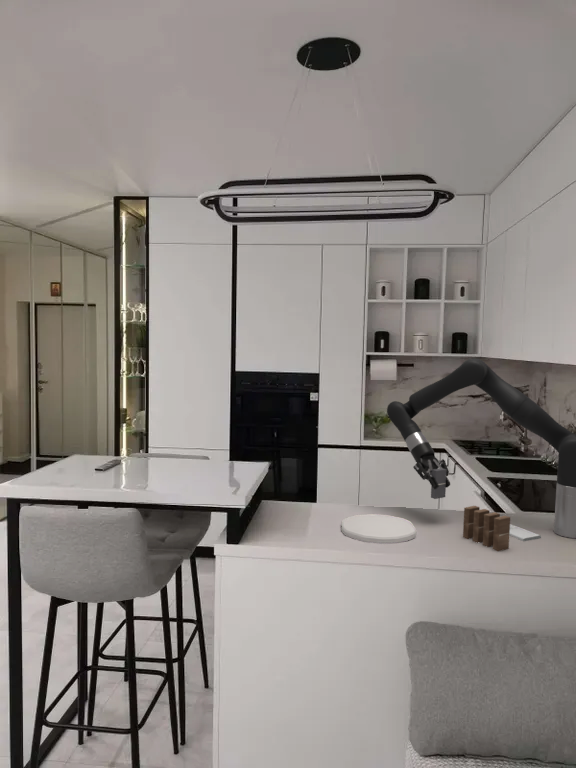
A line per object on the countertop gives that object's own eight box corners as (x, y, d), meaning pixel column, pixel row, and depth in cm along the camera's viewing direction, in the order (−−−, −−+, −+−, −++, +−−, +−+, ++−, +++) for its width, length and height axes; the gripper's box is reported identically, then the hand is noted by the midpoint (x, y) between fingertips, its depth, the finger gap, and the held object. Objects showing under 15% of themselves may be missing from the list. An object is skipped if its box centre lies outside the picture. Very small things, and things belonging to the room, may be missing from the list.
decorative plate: (408, 509, 204) (422, 533, 179) (408, 520, 205) (422, 546, 180) (339, 507, 205) (343, 531, 180) (339, 518, 205) (343, 543, 181)
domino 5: (492, 549, 177) (494, 517, 177) (503, 546, 180) (504, 515, 179) (498, 551, 176) (499, 519, 175) (508, 548, 178) (510, 517, 177)
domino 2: (462, 537, 188) (464, 507, 187) (473, 534, 190) (474, 505, 189) (467, 539, 186) (469, 509, 185) (478, 536, 188) (479, 507, 188)
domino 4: (482, 545, 181) (484, 514, 180) (493, 542, 183) (494, 512, 182) (487, 547, 179) (489, 516, 178) (498, 544, 182) (500, 513, 181)
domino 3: (472, 541, 184) (474, 511, 183) (483, 538, 187) (484, 508, 186) (477, 543, 182) (479, 512, 182) (488, 540, 185) (489, 510, 184)
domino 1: (430, 497, 200) (431, 469, 199) (441, 495, 202) (442, 468, 202) (435, 499, 198) (436, 470, 197) (445, 497, 201) (446, 469, 200)
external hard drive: (523, 543, 185) (494, 531, 196) (540, 539, 189) (511, 528, 200) (523, 538, 185) (494, 526, 196) (541, 535, 188) (511, 523, 200)
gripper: (410, 442, 201) (433, 483, 192) (439, 439, 209) (463, 479, 199) (399, 454, 206) (421, 495, 197) (428, 451, 214) (451, 490, 204)
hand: (442, 487), depth 198 cm, fingers closed on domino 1, 5 cm apart
